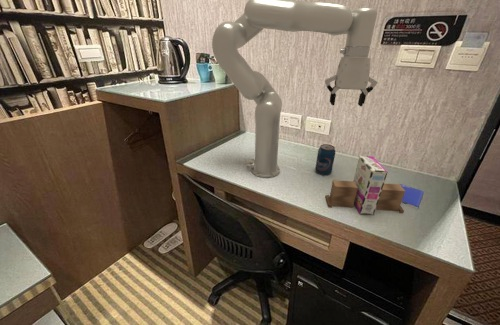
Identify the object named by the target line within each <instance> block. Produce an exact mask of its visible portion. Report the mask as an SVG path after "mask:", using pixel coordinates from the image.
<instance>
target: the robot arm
mask: <svg viewBox="0 0 500 325" xmlns="http://www.w3.org/2000/svg"><path fill="white" fill-rule="evenodd" d="M243 11H244V13H243V14H241V15H240V16H239V17H238V18H237V19H236V20H235V21H234V22H233V21H224V22H221V23H220V24H218V26H217V27H216V28H215V30H214V32H213V36H212V39H211V40H212V42H211V46H212V47H211V48H212V52H213V57H214V58H215V61H216V62H217V64H218V66H219V67H220V68H221V70H223V72H224V73H225V75H226V76H227V78H228V79H229V80H230V81H231V83H232V84H233V85H234V87H236V89H237V90H238V91H239V93H240V94H241V95H242V97H243V98H244V99H245V100H251V101H254V102H255V104H256V105H255V109H254V110H255V111H254V126H255V127H254V128H255V131H254V132H255V136H254V137H255V139H254V145H255V146H254V147H255V149H254V159H252V160H249V159H248V160H247V159H245V160H244V165H246V167H247V168H249V167H250V170H251V173H252V174H253V175H254V176H257V177H260V178H267V179H268V178H274V177H276V176H278V175H279V174H280V172H281V168H280V165H278V154H279V140H280V122H281V114H282V113H281V112H282V107H283V101H282V98H281V97H280V95H279V94H278V92H277V91H276V90H275V88H274V87H273V85H272V84H271V83H270V82H269V80H268V79H267V77H266V76H265V75H264V74H262V72H260V71H256V70H253V69H252V67H251V66H250V65H249V63H248V62H247V61H246V59H245V58H244V56H243V55H242V54H240V52H239V49H240V48H242V47H244V46H245V45H247V43H249V42H250V41H251V40H252V39H254V38H255V37H256V36H257V35H258V34H259V33H261V31H263V30H264V29H268V30H275V31H283V32H291V33H292V32H293V33H296V32H297V33H298V32H311V33H313V32H314V33H321V34H328V35H330V36H341V35H346V41H345V46H344V47H343V48H340V50H339V54H341V55H343V56H342V57H340V60H339V62H338V66H337V70H336V74H335V75H333V76H331V77H328V78H326V79H325V80H324V84H325V86H326V89H327V90H328V91H329V92H330V95H329V103H330V104H331V106H335V104H336V98H337V97H336V96H337V94H336V93H337V91H338V90H339V89H340V90H352V91H353V90H357V91H361V93H360V94H359V97H358V101H357V105H358V106H359V107H363V105H364V104H365V102H366V97H367V95H368V94H370V93H371V92H372V91H373V90H374V88H375V87H376V86H377V84H378V81H377V80H376V79H373V78H372V77H370V70H371V57H369V54H370V48H371V44H372V38H373V35H374V30H375V26H376V21H377V16H378V11H377V9H376V8H374V7H358V8H355V9H353V10H351V8H350V7H348V6H346V5H343V4H339V3H338V4H337V3H328V2H319V1H318V2H315V1H302V0H247V2H246V3H245V5H244V8H243ZM333 81H334V85H333V87H332V86H331V83H332V82H333ZM368 83H370V85H368Z"/></svg>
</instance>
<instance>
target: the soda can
mask: <svg viewBox="0 0 500 325" xmlns="http://www.w3.org/2000/svg"><path fill="white" fill-rule="evenodd" d="M335 148H336V147H335V146H334V145H331V144H326V143H325V144H321V145H320V147H318V150H317V155H316V162H315V172H316V173H317V174H318V175H321V176H329V175H330V174H331V173H332V172H333V167H334V162H335V157H336V149H335Z"/></svg>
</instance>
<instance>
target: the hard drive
mask: <svg viewBox="0 0 500 325" xmlns="http://www.w3.org/2000/svg"><path fill="white" fill-rule="evenodd" d="M399 185H401V186H402V188H403V189H404V190H405V194H404V196H403V199H402V202H401V205H404V206H408V207H411V208H413V209H416V210H418V209H419V206H420V204H421V201H422V199H423V195H424V190H421V189H419V188H418V189H417V188H414V187H412V186H408V185H406V184H401V183H399Z"/></svg>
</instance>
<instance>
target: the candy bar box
mask: <svg viewBox="0 0 500 325" xmlns="http://www.w3.org/2000/svg"><path fill="white" fill-rule="evenodd" d="M388 172H389V171H388V170H387V169H386V168H385V167H384V166H383V165H382V164H381V162H379V161H378V160H377V159H376V158H375V157H374V156H370V155H365V156H364V155H359V156H358V160H357V164H356V168H355V173H354V177H353V181H354V182H355V183H356V185H357V187H358V190H357V194H356V197H355V201H354V206H355V207H356V209H357V211H358V213H359V215H369V216H372V215H373V216H374V215H375V214H376V213H375V212H376V210H377V209H376V207H377V204H378V200H379V197H380V194H381V191H382V188H383V185H384V184H385V182H386V178H387V175H388Z"/></svg>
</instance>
